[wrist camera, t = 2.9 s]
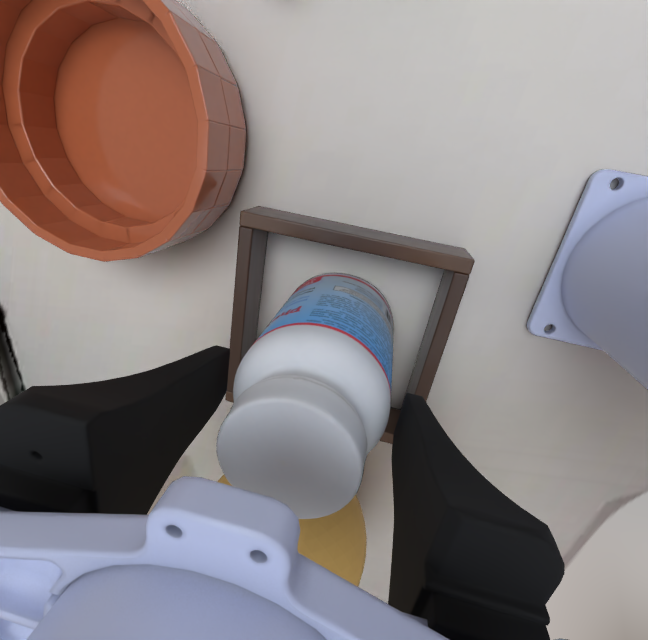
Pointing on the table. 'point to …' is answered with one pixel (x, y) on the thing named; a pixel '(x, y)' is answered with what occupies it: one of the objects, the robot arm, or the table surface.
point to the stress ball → (334, 540)
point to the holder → (356, 238)
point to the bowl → (115, 124)
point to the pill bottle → (312, 397)
